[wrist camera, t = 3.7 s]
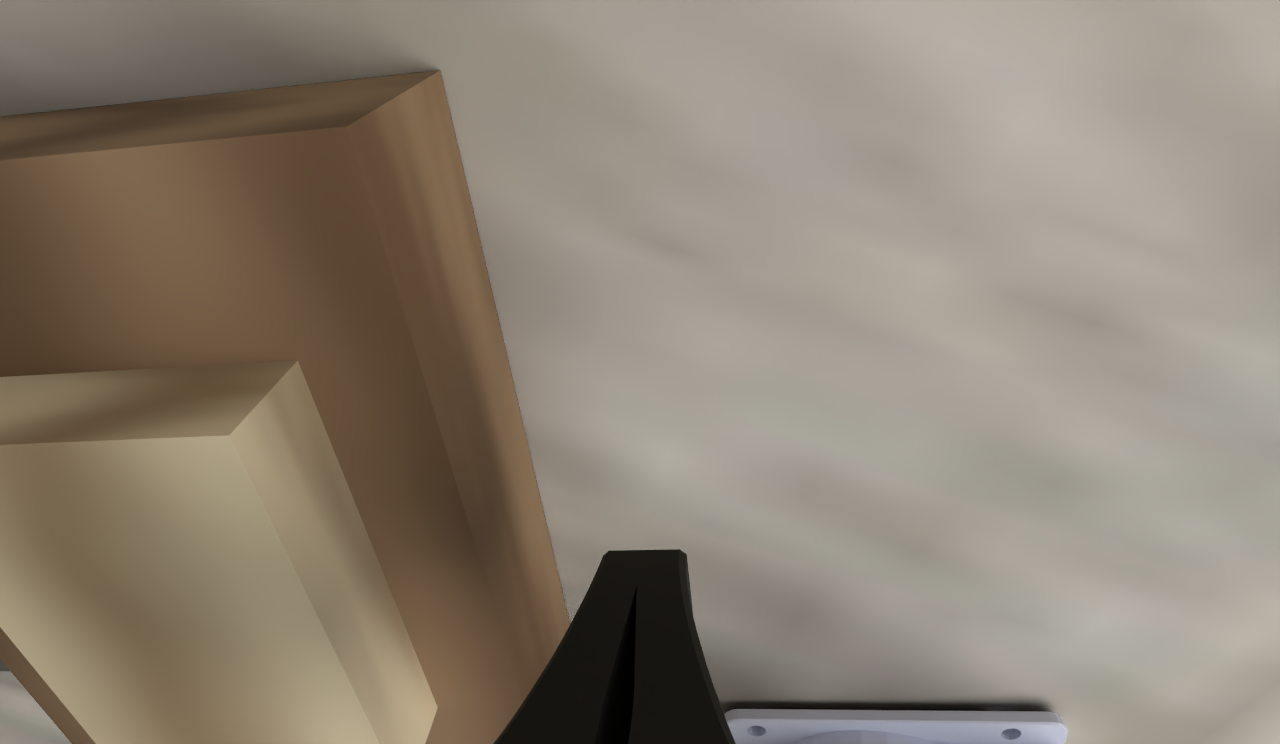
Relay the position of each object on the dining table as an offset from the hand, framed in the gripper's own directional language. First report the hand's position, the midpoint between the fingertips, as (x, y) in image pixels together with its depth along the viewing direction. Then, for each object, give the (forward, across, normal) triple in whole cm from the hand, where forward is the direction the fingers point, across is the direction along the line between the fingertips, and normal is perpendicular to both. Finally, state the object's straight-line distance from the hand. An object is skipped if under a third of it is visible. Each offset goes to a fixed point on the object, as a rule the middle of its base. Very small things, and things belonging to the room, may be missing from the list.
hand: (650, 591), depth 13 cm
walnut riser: (+5, +9, 0) cm, 10 cm away
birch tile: (+1, +8, 0) cm, 8 cm away
